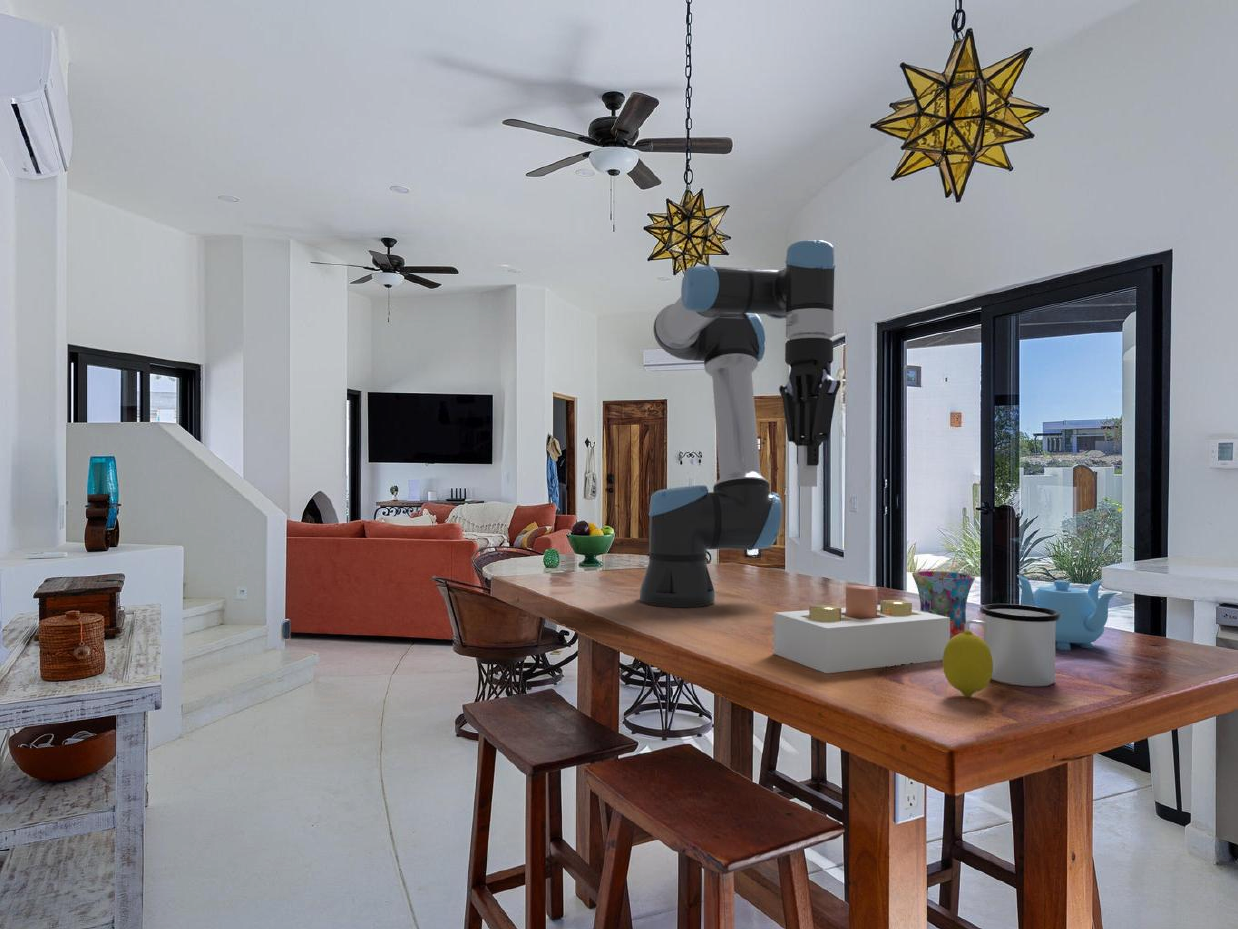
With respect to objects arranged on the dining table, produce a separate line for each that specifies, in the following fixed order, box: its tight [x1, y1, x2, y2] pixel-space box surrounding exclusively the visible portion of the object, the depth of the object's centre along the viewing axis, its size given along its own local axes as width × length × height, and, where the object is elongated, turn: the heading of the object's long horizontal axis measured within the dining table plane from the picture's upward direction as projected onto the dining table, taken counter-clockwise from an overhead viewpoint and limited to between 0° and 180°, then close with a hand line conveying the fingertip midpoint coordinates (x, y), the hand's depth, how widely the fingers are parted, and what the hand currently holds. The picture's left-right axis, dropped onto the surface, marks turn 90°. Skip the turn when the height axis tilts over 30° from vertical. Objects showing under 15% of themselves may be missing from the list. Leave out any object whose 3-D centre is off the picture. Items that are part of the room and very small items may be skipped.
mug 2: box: [965, 603, 1061, 688], centre depth 105 cm, size 12×9×9 cm
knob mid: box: [845, 585, 879, 620], centre depth 115 cm, size 4×4×5 cm
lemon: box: [942, 630, 993, 698], centre depth 95 cm, size 6×6×8 cm
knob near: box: [808, 604, 842, 623], centre depth 113 cm, size 4×4×5 cm
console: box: [773, 604, 950, 674], centre depth 115 cm, size 12×22×6 cm, turn 114°
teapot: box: [1016, 574, 1118, 651], centre depth 125 cm, size 13×13×10 cm
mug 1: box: [911, 570, 976, 639], centre depth 127 cm, size 12×9×11 cm
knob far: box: [879, 599, 913, 617], centre depth 118 cm, size 4×4×5 cm
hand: (807, 486), depth 127 cm, fingers closed
